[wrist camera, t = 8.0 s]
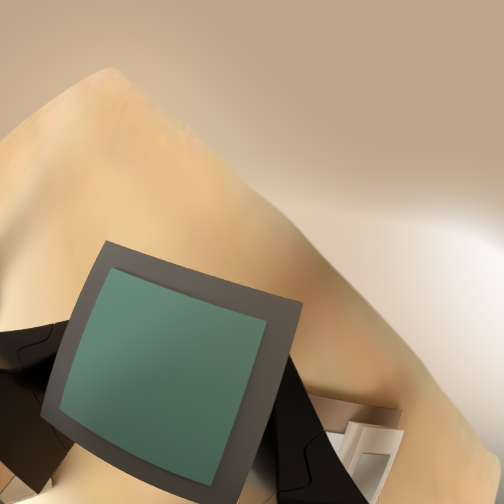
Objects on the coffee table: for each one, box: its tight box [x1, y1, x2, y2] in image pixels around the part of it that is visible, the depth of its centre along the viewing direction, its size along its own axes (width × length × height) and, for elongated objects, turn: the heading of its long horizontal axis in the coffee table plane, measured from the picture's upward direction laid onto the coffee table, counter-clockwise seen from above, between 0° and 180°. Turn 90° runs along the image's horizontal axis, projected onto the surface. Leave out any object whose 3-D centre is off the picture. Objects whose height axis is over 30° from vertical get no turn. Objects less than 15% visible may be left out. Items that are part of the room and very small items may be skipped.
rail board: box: [308, 393, 404, 504], centre depth 15 cm, size 18×10×4 cm, turn 72°
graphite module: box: [40, 241, 303, 504], centre depth 9 cm, size 4×4×11 cm
